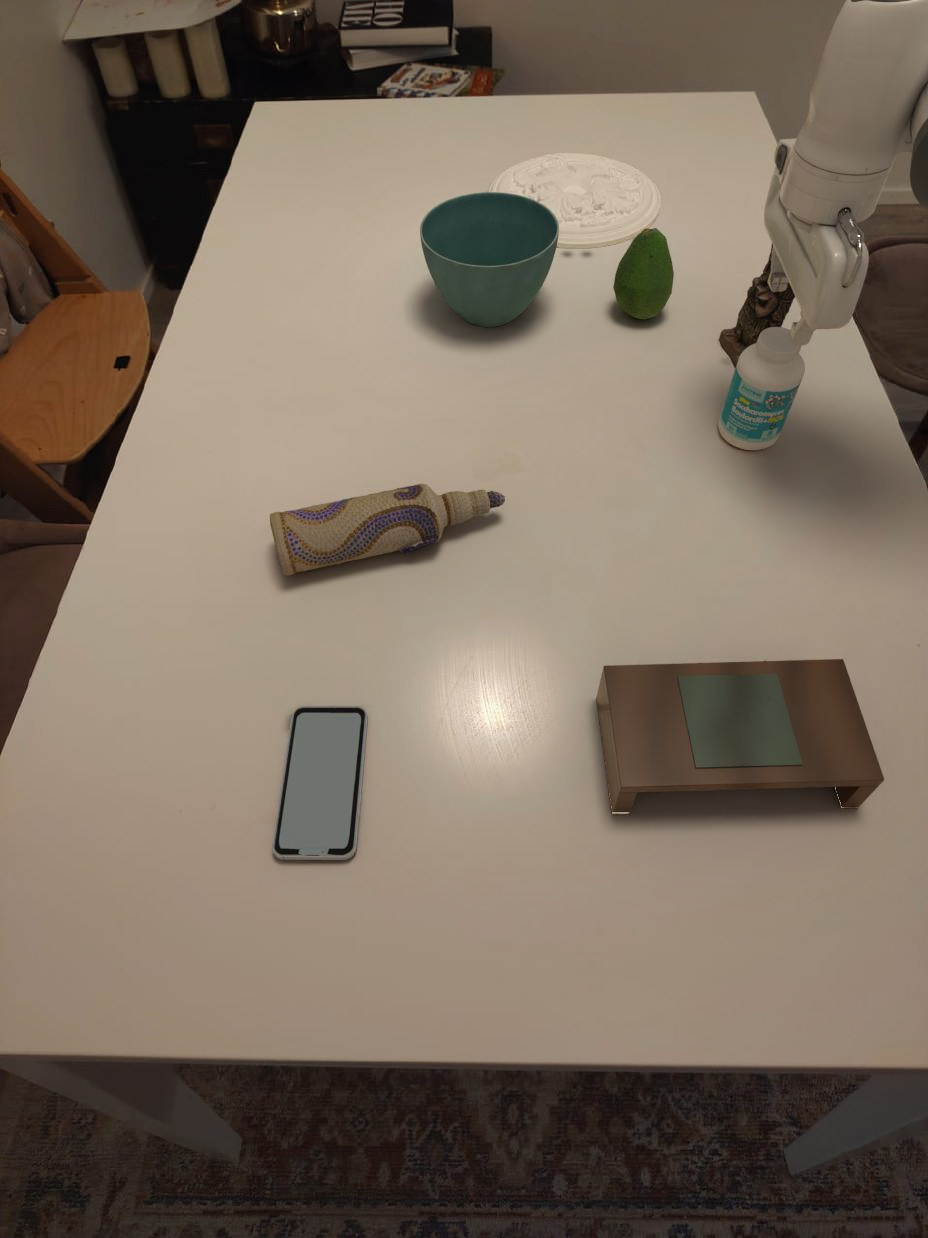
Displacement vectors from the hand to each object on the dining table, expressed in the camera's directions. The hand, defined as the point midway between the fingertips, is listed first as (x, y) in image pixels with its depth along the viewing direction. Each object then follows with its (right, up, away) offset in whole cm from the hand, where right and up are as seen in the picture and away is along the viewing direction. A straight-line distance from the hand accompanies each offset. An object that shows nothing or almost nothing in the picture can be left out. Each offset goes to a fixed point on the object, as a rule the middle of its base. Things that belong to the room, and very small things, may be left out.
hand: (786, 313), depth 88 cm
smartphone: (-48, -48, -12) cm, 68 cm away
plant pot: (-31, +11, +29) cm, 44 cm away
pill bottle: (0, -10, +14) cm, 17 cm away
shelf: (-11, -45, -11) cm, 48 cm away
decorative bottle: (-43, -25, +4) cm, 50 cm away
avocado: (-10, +10, +28) cm, 32 cm away
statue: (+4, +3, +23) cm, 24 cm away
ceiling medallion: (-17, +35, +46) cm, 61 cm away
